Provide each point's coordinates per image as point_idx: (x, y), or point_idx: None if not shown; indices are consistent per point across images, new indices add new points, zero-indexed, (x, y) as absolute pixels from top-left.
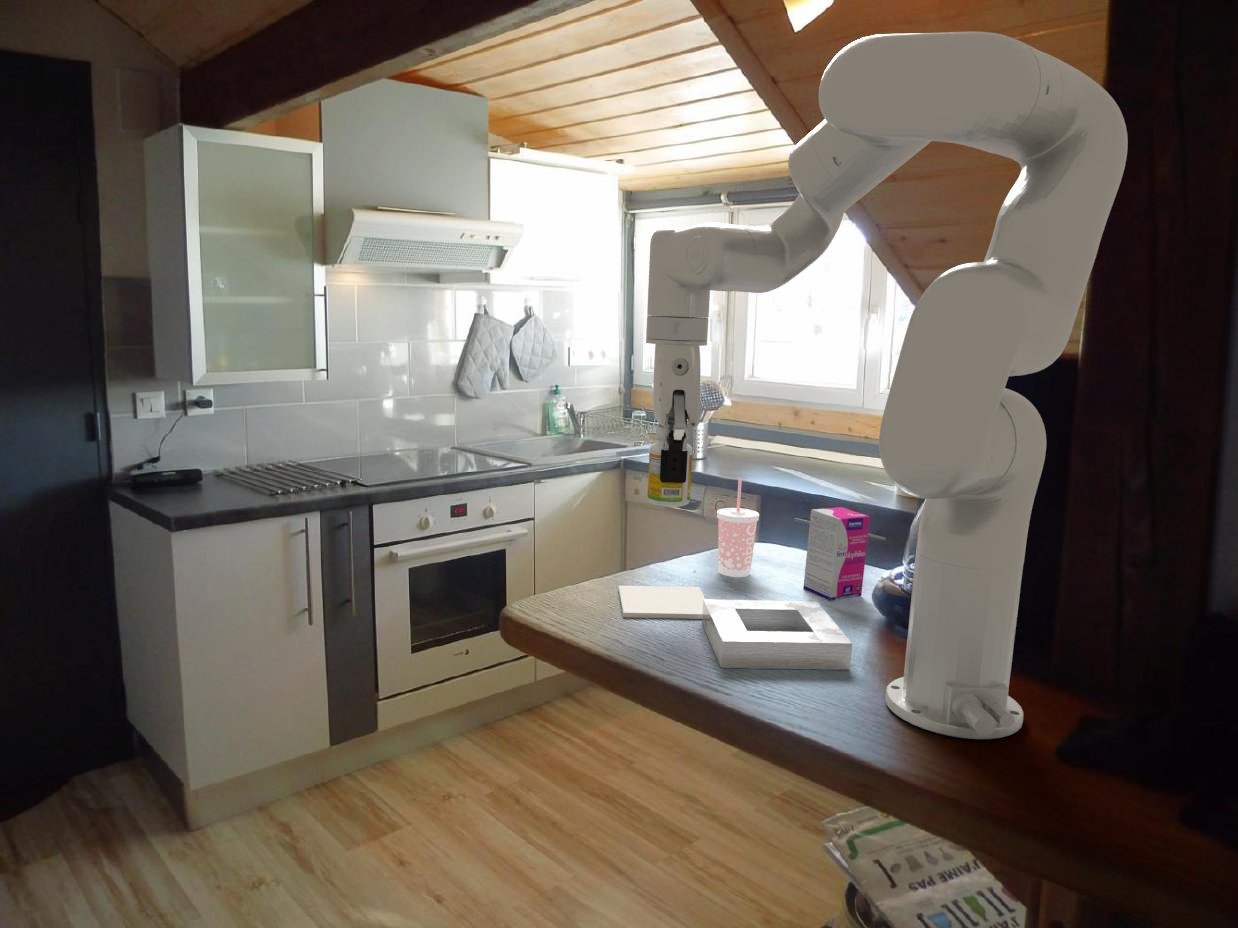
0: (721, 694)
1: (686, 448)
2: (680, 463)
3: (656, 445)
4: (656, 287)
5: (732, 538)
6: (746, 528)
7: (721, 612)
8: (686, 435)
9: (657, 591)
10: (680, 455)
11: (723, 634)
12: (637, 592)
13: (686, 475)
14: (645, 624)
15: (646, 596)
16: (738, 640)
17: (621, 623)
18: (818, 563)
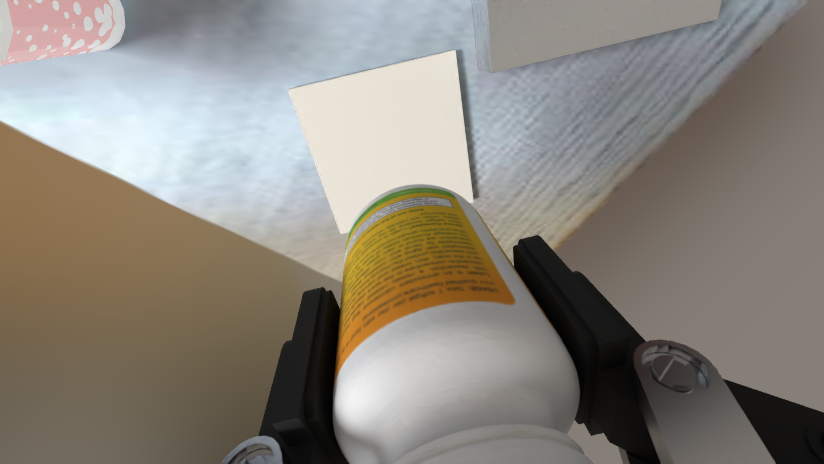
0: (766, 17)
1: (697, 353)
2: (613, 307)
3: None
4: None
5: (50, 8)
6: None
7: (569, 27)
8: (767, 450)
9: (350, 169)
10: (639, 341)
11: (686, 18)
12: (367, 200)
13: (494, 248)
14: (496, 163)
15: (385, 182)
16: None
17: (496, 196)
18: None
